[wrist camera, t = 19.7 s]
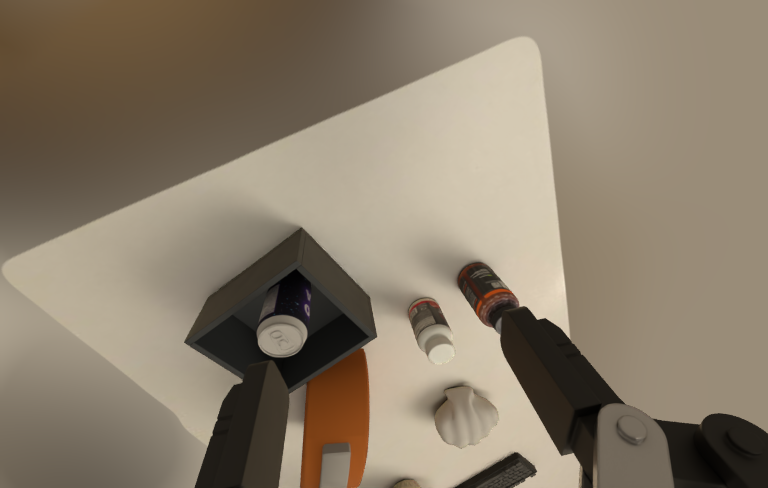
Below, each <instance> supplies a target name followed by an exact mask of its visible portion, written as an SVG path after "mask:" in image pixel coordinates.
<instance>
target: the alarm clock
mask: <svg viewBox="0 0 768 488" xmlns="http://www.w3.org/2000/svg"><path fill="white" fill-rule="evenodd" d="M368 437H369V379H368V368H367V360H366V355H365V352H364V349H362V348H359V349H358V350H356V351H355V352H353V353H352V354H350V355H349V356H347V357H345V358H344V359H342V360H341V361H339V362H338V363H336V364H335V365H333V366H332V367H330V368H328V369H327V370H325V371H324V372H322V373H321V374H319V375H318V376H316V377H315V378H313V379H311V380H310V381H308V382H307V388H306V403H305V418H304V434H303V449H302V465H301V482H300V488H357V487H358V486H359V485H360V482H361V480H362V476H363V473H364V469H365V463H366V458H367V452H368Z"/></svg>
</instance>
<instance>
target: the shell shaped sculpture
mask: <svg viewBox="0 0 768 488" xmlns="http://www.w3.org/2000/svg"><path fill="white" fill-rule="evenodd" d="M445 395H446V396H447V398H448V399H447V401H446V402H445V403H444V404H443V405H442V406H441V407H440V408H439V409H438V410H437V412H436V415H435V425H436V429H437V431H438V433H439V435H440V436H441V438H442V439H443V441H444V442H446V443H447V444H450V445H455V446H457V447H459V448H461V449H462V448H464V447H466V446H467V445H476V444H478V443H479V442H480V440H481V439H483V438H485V437H487V436H488V435H489V433H490V431H491V430H492V428H493V427H495V426H496V425H497V423H498V421H499V415H498V412H497V409H496V408H495V406H494V405H493V404H492V403H490V402H489V401H488V400H487V399H485V398H483V397H480V396H478V395H475V394H474V393H473V389H472V388H471V387H466V386H463V387H456V388H451V389H447V390H445Z"/></svg>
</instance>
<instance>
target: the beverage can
mask: <svg viewBox="0 0 768 488" xmlns="http://www.w3.org/2000/svg"><path fill="white" fill-rule="evenodd" d="M311 289H312V283H311V282H310V281H309V280H308V279H307V278H306V277H304V276H303V275H302V274H301V273H300V272H299V271H298V270H297V269H295V270H293V271H292V272H291V273H289V274H288V275H286V276H285V277H284V278H282V279H281V280H279V281H278V282H277V283H275V284H274V285H273V286H271V287H270V288H268V291H267V294H266V298H265V301H264V305H263V309H262V312H261V316H260V319H259V323H258V326H257V330H256V335H257V338H258V345H259V347H260V349H261V350H262V351H263V352H264V353H266V354H268V355H270V356H273V357H288V356H291V355H294V354H296V353H297V352H298V351H299V350H300V349H301V348H302V346H303V344H304V342H305V341H306V339H307V337H308V329H309V316H310V303H311Z"/></svg>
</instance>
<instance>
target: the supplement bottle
mask: <svg viewBox="0 0 768 488" xmlns="http://www.w3.org/2000/svg"><path fill="white" fill-rule="evenodd" d="M458 286H459V288H460V290H461V292H462V293H463V295H464V296H465V298H466V299H467V301H468V302H469V304H470V305H471V307H472V308H473V310H474V312H475V313H476V315H477V316H478V317H479V319H480V320H481V322H482V323H483V324H485V325H486V326H489V327H493V328H494V329H495V330H496V332H497V333H499V334H501V320H502V312H503V311H505V310H509V309H514V308H519V301H518V299H517V298H516V296H515V295H514V294H513V293H512V292H511V291H510V290H509V288H508V287H507V286H506V285H505V284H504V283H503V282H502V281H501V279H500V278H499V277H498V276H497V275H496V274H495V273H494V271H493V270H492V269H491V268H490V267H489V266H487V265H486V264H482V263H475V264H472V265H470V266H468V267H466V268H465V269H464V270H463V271H462V272H461V274H460V275H459V278H458Z"/></svg>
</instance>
